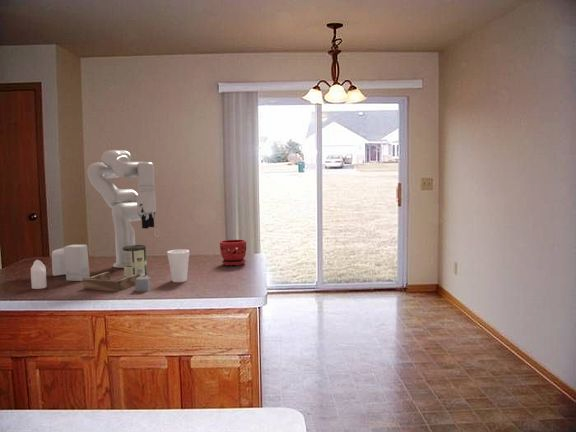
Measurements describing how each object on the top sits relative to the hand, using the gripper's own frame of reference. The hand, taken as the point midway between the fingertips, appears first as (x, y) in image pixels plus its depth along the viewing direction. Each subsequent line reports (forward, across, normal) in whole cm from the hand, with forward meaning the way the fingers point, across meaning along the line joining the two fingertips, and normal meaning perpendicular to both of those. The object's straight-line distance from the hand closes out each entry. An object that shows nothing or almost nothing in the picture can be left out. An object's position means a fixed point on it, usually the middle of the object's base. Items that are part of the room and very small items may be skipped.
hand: (148, 227), depth 272 cm
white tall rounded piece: (+22, +40, -29) cm, 54 cm away
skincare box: (+22, +23, -23) cm, 39 cm away
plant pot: (+22, -27, +31) cm, 46 cm away
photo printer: (+22, +15, -37) cm, 45 cm away
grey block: (+21, +32, +17) cm, 42 cm away
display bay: (+21, +29, 0) cm, 36 cm away
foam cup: (+22, +13, +23) cm, 34 cm away
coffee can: (+22, +12, 0) cm, 25 cm away
